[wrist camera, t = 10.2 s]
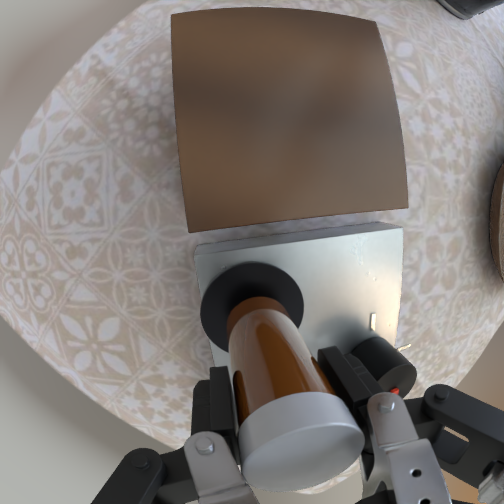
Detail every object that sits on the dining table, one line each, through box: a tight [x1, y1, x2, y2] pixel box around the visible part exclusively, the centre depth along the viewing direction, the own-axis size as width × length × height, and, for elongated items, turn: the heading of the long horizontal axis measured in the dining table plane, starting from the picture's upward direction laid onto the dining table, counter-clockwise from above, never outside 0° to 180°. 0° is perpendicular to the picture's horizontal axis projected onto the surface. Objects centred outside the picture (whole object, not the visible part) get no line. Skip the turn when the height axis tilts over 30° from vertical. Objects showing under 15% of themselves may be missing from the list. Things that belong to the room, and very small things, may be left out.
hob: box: [194, 222, 411, 394], centre depth 20 cm, size 14×16×3 cm
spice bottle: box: [226, 297, 365, 492], centre depth 11 cm, size 4×4×10 cm
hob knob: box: [351, 337, 417, 399], centre depth 17 cm, size 4×4×4 cm
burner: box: [200, 261, 304, 353], centre depth 17 cm, size 6×6×1 cm
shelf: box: [171, 7, 408, 233], centre depth 14 cm, size 10×10×8 cm
